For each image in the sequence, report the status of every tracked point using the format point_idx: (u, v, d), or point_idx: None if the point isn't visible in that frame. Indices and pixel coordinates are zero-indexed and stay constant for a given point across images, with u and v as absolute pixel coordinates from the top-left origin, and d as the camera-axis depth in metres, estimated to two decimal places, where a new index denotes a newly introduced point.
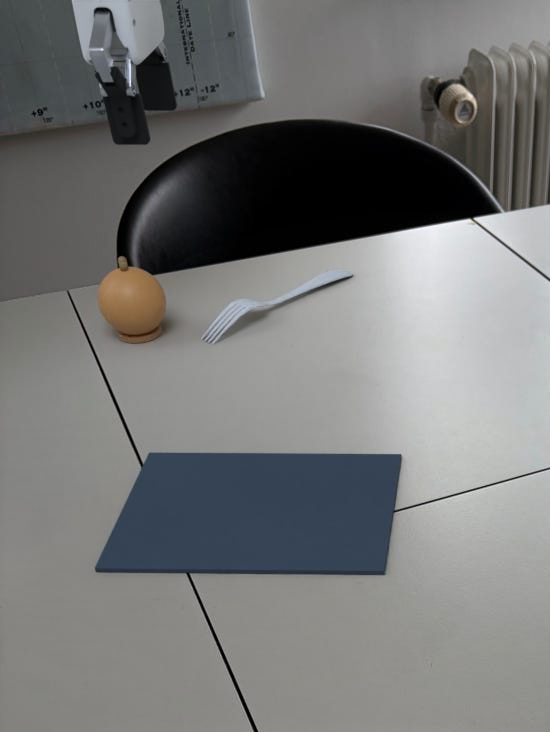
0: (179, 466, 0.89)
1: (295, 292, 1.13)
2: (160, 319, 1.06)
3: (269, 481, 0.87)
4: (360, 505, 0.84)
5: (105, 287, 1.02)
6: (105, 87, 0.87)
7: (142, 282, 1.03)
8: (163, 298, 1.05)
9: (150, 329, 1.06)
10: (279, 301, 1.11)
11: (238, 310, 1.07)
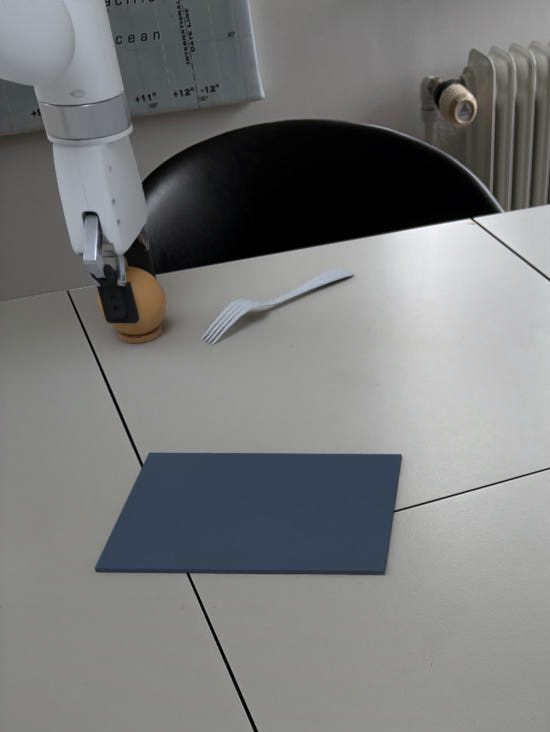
0: (179, 466, 0.89)
1: (295, 292, 1.13)
2: (160, 319, 1.06)
3: (269, 481, 0.87)
4: (360, 505, 0.84)
5: None
6: (98, 280, 0.98)
7: (142, 282, 1.03)
8: (163, 298, 1.05)
9: (150, 329, 1.06)
10: (279, 301, 1.11)
11: (238, 310, 1.07)
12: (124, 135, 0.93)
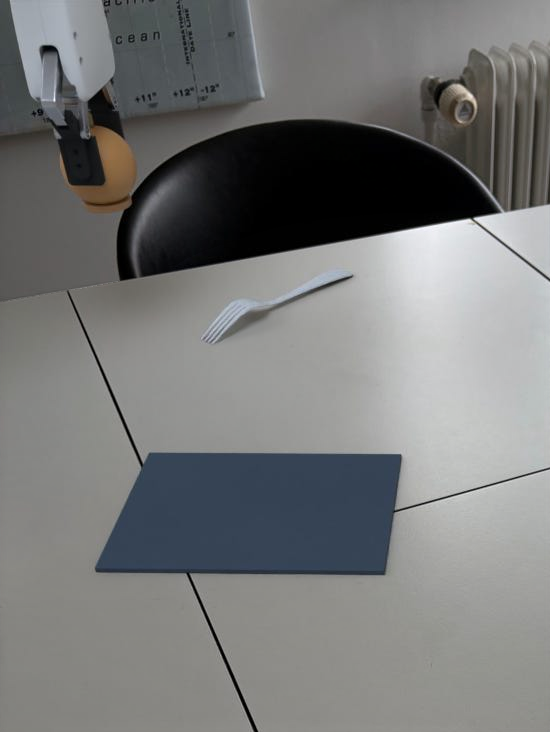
0: (179, 466, 0.89)
1: (295, 292, 1.13)
2: (130, 186, 0.95)
3: (269, 481, 0.87)
4: (360, 505, 0.84)
5: None
6: (59, 130, 0.87)
7: (109, 140, 0.92)
8: (133, 162, 0.94)
9: (118, 197, 0.95)
10: (279, 301, 1.11)
11: (238, 310, 1.07)
12: None
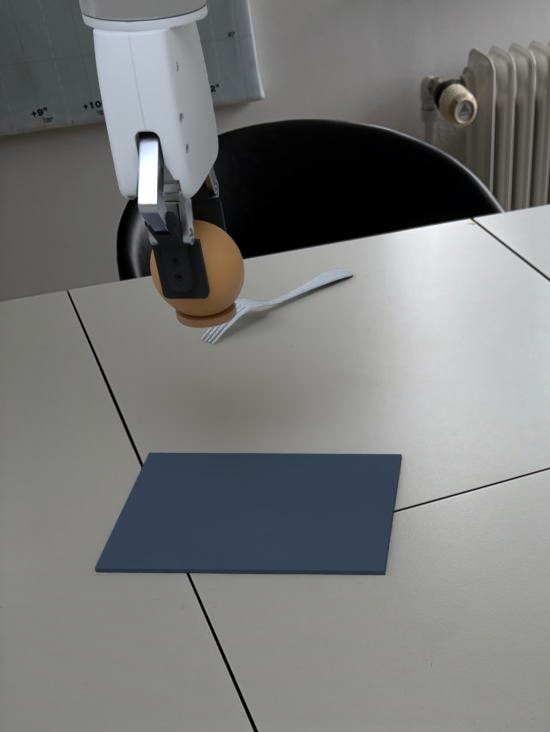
0: (179, 466, 0.89)
1: (295, 292, 1.13)
2: (237, 294, 0.76)
3: (269, 481, 0.87)
4: (360, 505, 0.84)
5: None
6: (157, 236, 0.68)
7: (214, 240, 0.73)
8: (242, 264, 0.75)
9: (223, 308, 0.76)
10: (279, 301, 1.11)
11: (238, 310, 1.07)
12: (197, 17, 0.63)
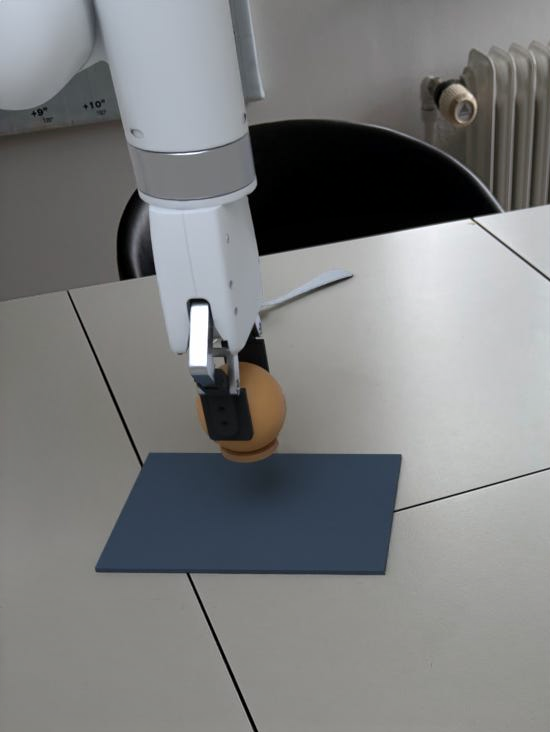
0: (179, 466, 0.89)
1: (295, 292, 1.13)
2: (279, 431, 0.78)
3: (269, 481, 0.87)
4: (360, 505, 0.84)
5: None
6: (205, 390, 0.71)
7: (258, 384, 0.75)
8: (284, 404, 0.78)
9: (266, 444, 0.78)
10: (279, 301, 1.11)
11: None
12: (248, 192, 0.66)
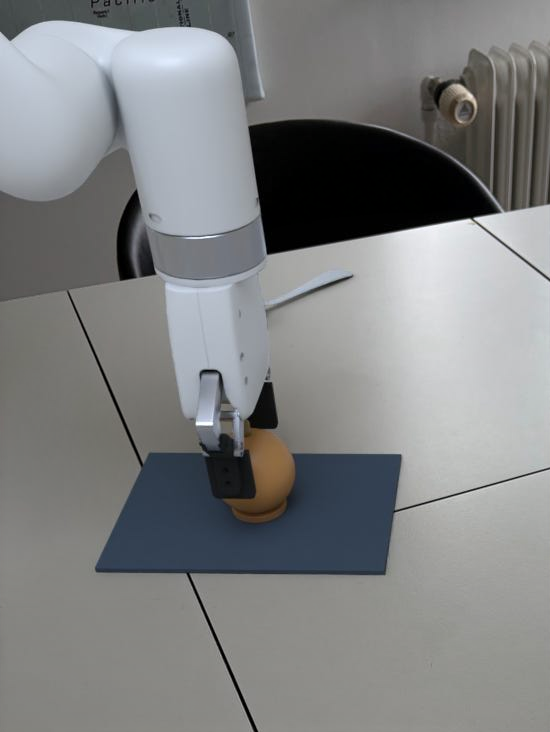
0: (179, 466, 0.89)
1: (295, 292, 1.13)
2: (288, 493, 0.82)
3: None
4: (360, 505, 0.84)
5: None
6: (210, 453, 0.73)
7: (269, 451, 0.79)
8: (293, 468, 0.81)
9: (275, 506, 0.82)
10: (279, 301, 1.11)
11: None
12: (259, 270, 0.69)
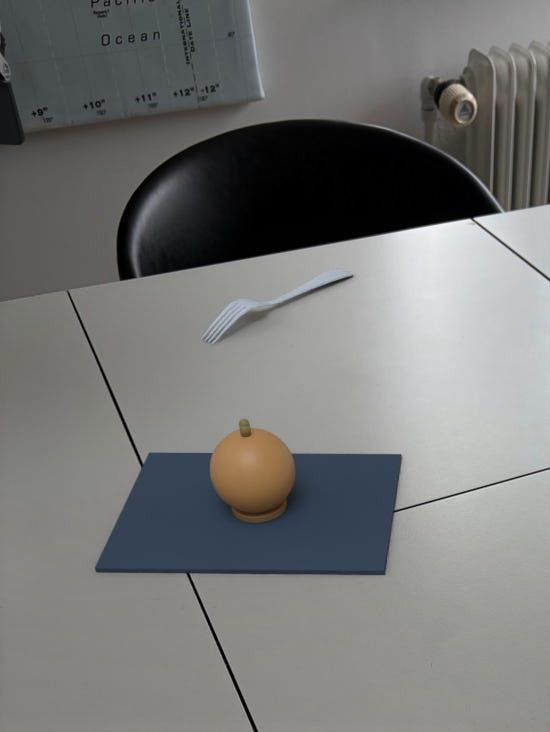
0: (179, 466, 0.89)
1: (295, 292, 1.13)
2: (288, 493, 0.82)
3: None
4: (360, 505, 0.84)
5: (222, 458, 0.79)
6: None
7: (269, 451, 0.79)
8: (293, 468, 0.81)
9: (275, 506, 0.82)
10: (279, 301, 1.11)
11: (238, 310, 1.07)
12: None
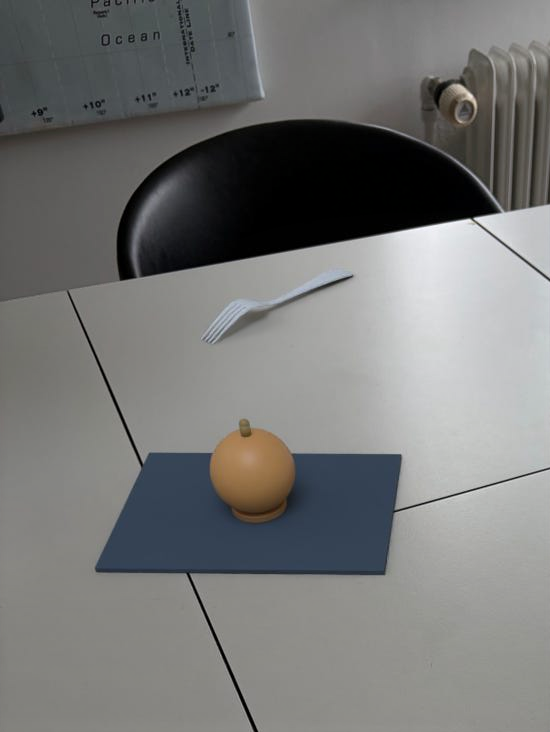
0: (179, 466, 0.89)
1: (295, 292, 1.13)
2: (288, 493, 0.82)
3: None
4: (360, 505, 0.84)
5: (222, 458, 0.79)
6: None
7: (269, 451, 0.79)
8: (293, 468, 0.81)
9: (275, 506, 0.82)
10: (279, 301, 1.11)
11: (238, 310, 1.07)
12: None
